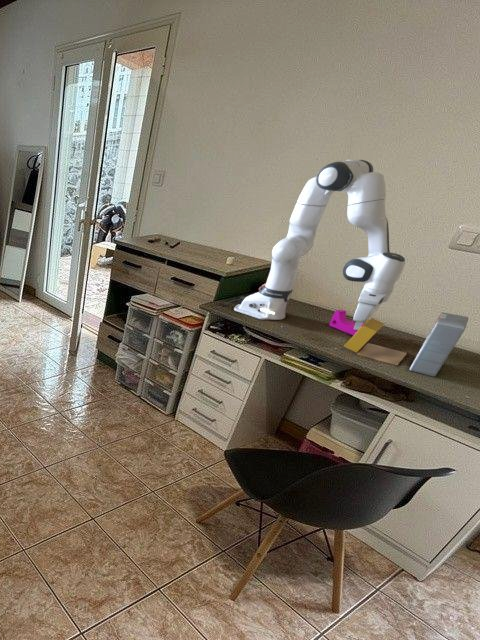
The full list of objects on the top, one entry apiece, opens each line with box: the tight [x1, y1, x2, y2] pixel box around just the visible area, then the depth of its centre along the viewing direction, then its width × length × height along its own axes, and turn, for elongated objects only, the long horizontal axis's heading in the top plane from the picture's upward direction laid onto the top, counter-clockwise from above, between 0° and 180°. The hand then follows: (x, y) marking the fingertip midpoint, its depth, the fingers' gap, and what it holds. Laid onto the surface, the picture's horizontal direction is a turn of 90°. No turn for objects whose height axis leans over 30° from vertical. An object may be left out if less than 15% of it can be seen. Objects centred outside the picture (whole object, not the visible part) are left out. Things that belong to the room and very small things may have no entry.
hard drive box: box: [409, 311, 469, 377], centre depth 160 cm, size 16×8×20 cm, turn 131°
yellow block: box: [343, 317, 385, 354], centre depth 178 cm, size 5×12×11 cm, turn 129°
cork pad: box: [355, 342, 408, 367], centre depth 175 cm, size 13×16×1 cm
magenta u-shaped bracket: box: [328, 309, 370, 336], centre depth 193 cm, size 15×6×8 cm, turn 12°
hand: (359, 326), depth 178 cm, fingers open, 8 cm apart
